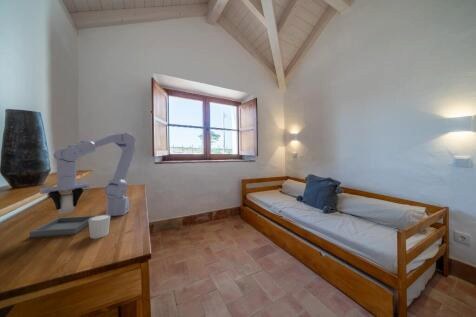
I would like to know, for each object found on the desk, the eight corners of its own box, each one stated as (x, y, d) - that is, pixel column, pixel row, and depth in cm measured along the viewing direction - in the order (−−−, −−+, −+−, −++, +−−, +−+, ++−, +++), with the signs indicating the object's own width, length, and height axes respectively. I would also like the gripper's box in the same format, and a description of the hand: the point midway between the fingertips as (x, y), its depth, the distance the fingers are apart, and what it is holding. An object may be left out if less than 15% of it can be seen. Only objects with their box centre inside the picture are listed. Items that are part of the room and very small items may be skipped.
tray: (95, 220, 79) (95, 215, 79) (75, 234, 66) (75, 228, 66) (58, 223, 76) (58, 217, 76) (29, 238, 62) (29, 231, 62)
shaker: (76, 210, 74) (76, 192, 74) (68, 213, 69) (68, 194, 69) (64, 211, 73) (64, 193, 73) (55, 214, 68) (54, 195, 68)
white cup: (85, 240, 62) (85, 222, 62) (91, 232, 68) (91, 215, 68) (108, 237, 65) (108, 219, 65) (111, 229, 71) (112, 213, 71)
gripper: (84, 173, 79) (84, 201, 79) (37, 176, 66) (37, 210, 66) (91, 174, 75) (91, 204, 75) (42, 178, 62) (42, 214, 63)
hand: (66, 207), depth 71 cm, fingers closed on shaker, 4 cm apart
